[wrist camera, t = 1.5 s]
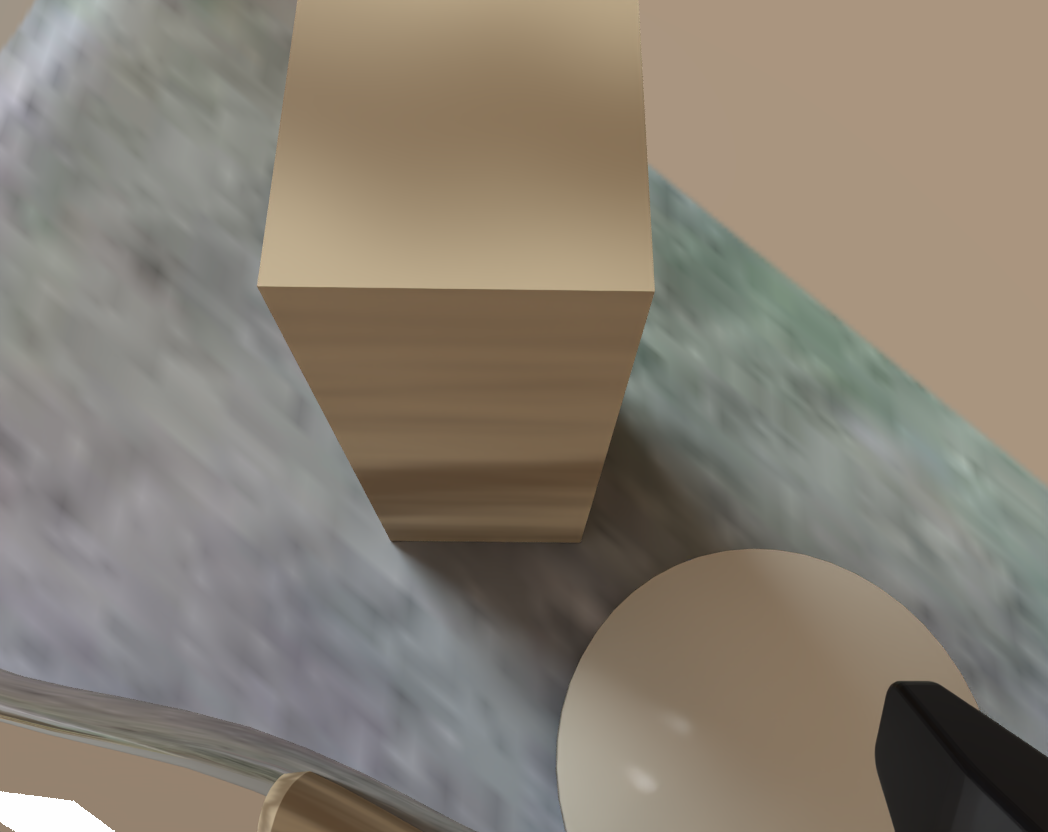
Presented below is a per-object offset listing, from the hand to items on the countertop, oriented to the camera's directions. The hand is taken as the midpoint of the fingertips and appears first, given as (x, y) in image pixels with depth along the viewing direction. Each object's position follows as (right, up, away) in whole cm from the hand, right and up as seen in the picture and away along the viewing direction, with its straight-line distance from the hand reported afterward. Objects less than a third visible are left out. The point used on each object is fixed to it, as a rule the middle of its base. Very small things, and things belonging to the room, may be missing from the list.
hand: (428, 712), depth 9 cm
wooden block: (0, +2, +15) cm, 16 cm away
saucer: (+7, -5, +12) cm, 15 cm away
